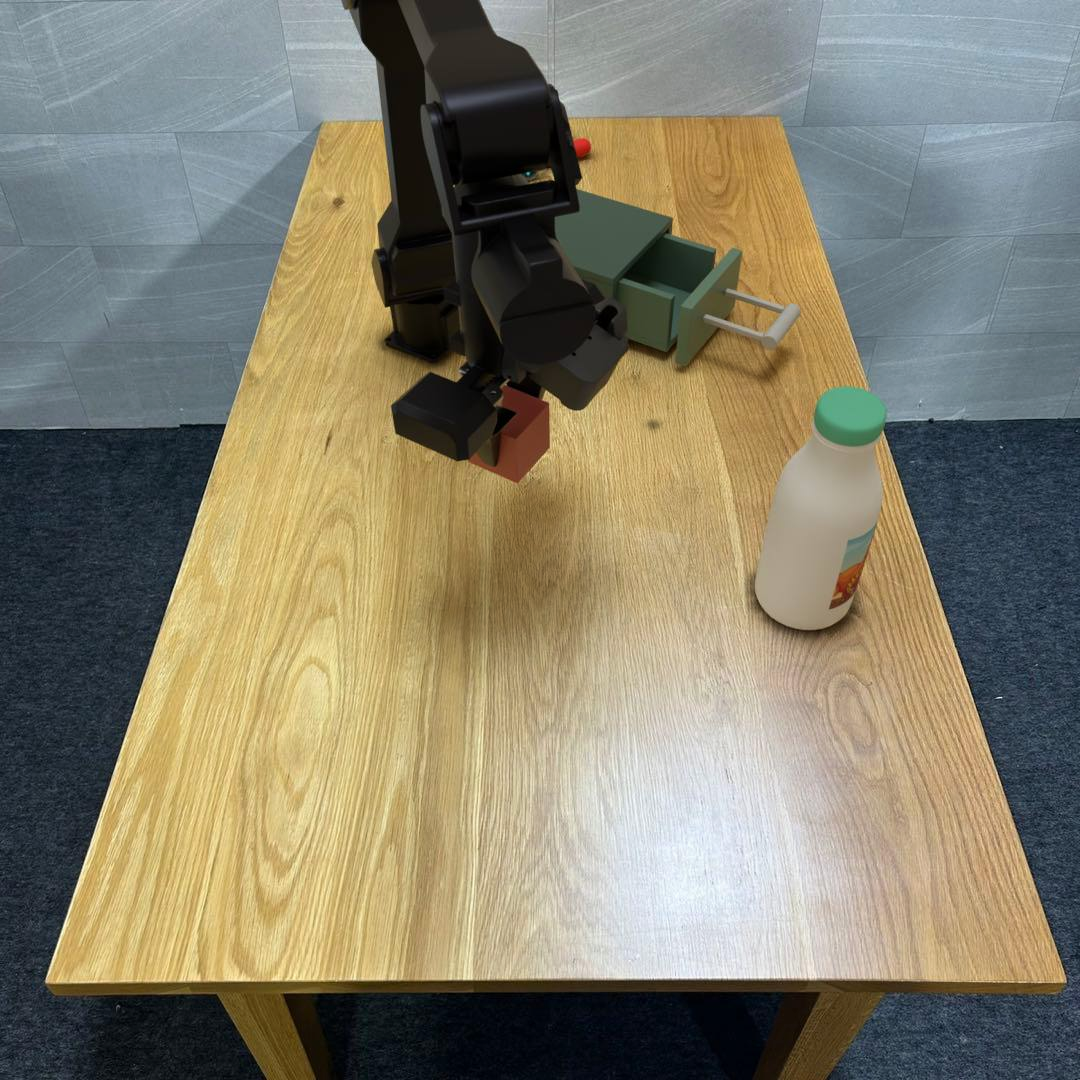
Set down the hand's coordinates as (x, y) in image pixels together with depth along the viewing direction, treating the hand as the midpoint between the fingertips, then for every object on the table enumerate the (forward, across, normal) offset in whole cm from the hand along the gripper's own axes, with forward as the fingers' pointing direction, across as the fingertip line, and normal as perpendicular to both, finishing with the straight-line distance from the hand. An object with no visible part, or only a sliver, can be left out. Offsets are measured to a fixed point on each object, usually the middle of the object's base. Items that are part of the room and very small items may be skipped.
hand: (508, 445), depth 79 cm
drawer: (+11, +33, +1) cm, 35 cm away
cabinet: (+12, +33, +13) cm, 38 cm away
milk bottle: (+12, +8, -23) cm, 27 cm away
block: (+1, 0, 0) cm, 1 cm away
